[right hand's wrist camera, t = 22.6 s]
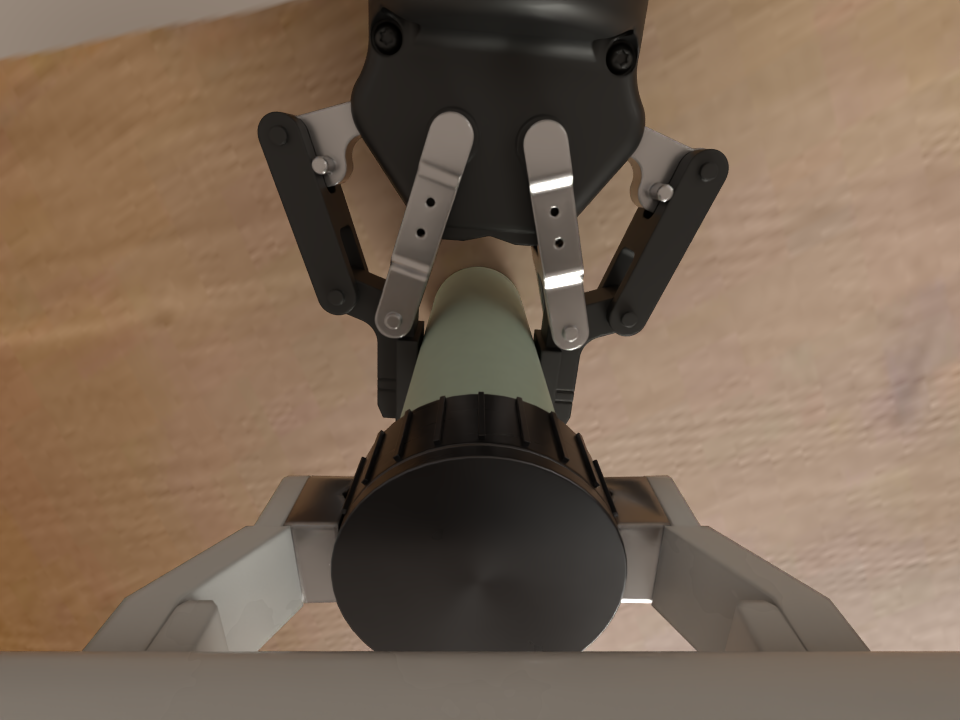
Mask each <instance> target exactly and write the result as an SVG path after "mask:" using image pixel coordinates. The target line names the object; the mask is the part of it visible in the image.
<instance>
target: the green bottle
mask: <svg viewBox="0 0 960 720" xmlns="http://www.w3.org/2000/svg"><path fill="white" fill-rule="evenodd" d="M478 392H484V394H492V395H501V396H507V397H511V398H515V399H516V398H517V397H521V398H522V400H523V401H525V402H527V403H530V404H533V405H535V406H538V407H540V408H541V409H543V410H545V411H547V412H549V413H550V412H551V411H553V412H555V411H554V408H553V404H552V401H551V398H550V394H549V391H548V388H547V384H546V381H545V378H544V374H543V371H542V368H541V364H540V361H539V358H538V355H537V351H536V348H535V345H534V341H533V338H532V335H531V331H530V328H529V325H528V321H527V318H526V315H525V311H524V308H523V305H522V301H521V298H520V295H519V293H518V291H517V289H516V287H515V286H514V284H513V283H512V282H511V281H510V280H509V279H508V278H507V277H506V276H505V275H503V274H502V273H500V272H498V271H496V270H493V269H490V268H486V267H470V268H465V269H462V270H459V271H457V272H456V273H454V274H452V275H451V276H449V277H448V278H447V279H446V280H445V281H444V282H443V283H442V285H441V286H440V288H439V289H438V291H437V294H436V296H435V299H434V303H433V306H432V310H431V313H430V317H429V320H428V324H427V327H426V331H425V334H424V337H423V341H422V344H421V348H420V351H419V355H418V358H417V362H416V365H415V369H414V372H413V376H412V379H411V382H410V386H409V389H408V393H407V396H406V400H405V403H404V407H403V410H402V414H401V417H403V416H404V414H405V411H407V410H408V409H410V410H411V411H413V410H415V409H416V408H418V407H420V406H423V405H425V404H428V403H430V402H433V401H436V400H439V399H440V397H441V396H445V397H446V398H447V397H451V396H457V395H466V394H478ZM401 417H400V418H401Z"/></svg>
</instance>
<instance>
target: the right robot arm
mask: <svg viewBox="0 0 960 720" xmlns="http://www.w3.org/2000/svg"><path fill="white" fill-rule="evenodd" d="M353 479H354V477H351V476H287V477H284V478H283V479H282V481H281V483H280V484H279V486H278V487H277V489H276V491H275V492H274V494H273V496H272V497H271V499H270V500H269V502H268V504H267V505H266V507H265V509H264V510H263V512H262V513H261V515H260V517H259V518H258V520H257V521H256V523H255V525H254V526H246V527H244V528H242V529H240V530H239V531H237V532H235V533H234V534H232V535H230V536H229V537H227V538H225V539H224V540H222V541H220V542H219V543H217V544H215V545H213V546H212V547H210V548H208V549H207V550H205V551H203V552H202V553H200V554H198V555H197V556H195V557H193V558H192V559H190V560H188V561H186V562H185V563H183V564H181V565H180V566H178V567H176V568H175V569H173V570H171V571H170V572H168V573H166V574H165V575H163V576H161V577H159V578H158V579H156V580H154V581H153V582H151V583H149V584H148V585H146V586H144V587H143V588H141V589H139V590H138V591H136V592H134V593H132V594H131V595H129V596H127V597H126V598H124V600H123V601H122V602H121V603H120V605H119V606H118V607H117V608H116V610H115V611H114V612H113V613H112V615H111V616H110V617H109V618H108V619H107V621H106V622H105V623H104V624H103V626H102V627H101V628H100V629H99V631H98V632H97V633H96V634H95V636H94V637H93V638H92V639H91V641H90V642H89V643H88V644H87V646H86V647H85V648H84V649H83V650H82V651H0V720H960V651H870V650H869V648H868V647H867V646H866V645H865V643H864V642H863V641H862V640H861V638H860V637H859V636H858V634H857V633H856V632H855V631H854V629H853V628H852V627H851V626H850V624H849V623H848V622H847V620H846V619H845V618H844V617H843V615H842V614H841V613H840V612H839V610H838V609H837V608H836V607H835V605H834V604H833V603H832V601H831V600H830V599H829V598H827V597H826V596H824V595H822V594H821V593H819V592H817V591H816V590H814V589H812V588H811V587H809V586H807V585H806V584H804V583H802V582H801V581H799V580H797V579H796V578H794V577H792V576H791V575H789V574H787V573H786V572H784V571H782V570H781V569H779V568H777V567H776V566H774V565H772V564H771V563H769V562H767V561H766V560H764V559H762V558H761V557H759V556H757V555H756V554H754V553H752V552H751V551H749V550H747V549H746V548H744V547H742V546H741V545H739V544H737V543H736V542H734V541H732V540H731V539H729V538H727V537H726V536H724V535H722V534H721V533H719V532H717V531H716V530H714V529H712V528H711V527H709V526H701V525H700V524H699V522H698V521H697V519H696V517H695V516H694V514H693V512H692V511H691V509H690V507H689V506H688V504H687V502H686V501H685V499H684V498H683V496H682V494H681V493H680V491H679V489H678V488H677V486H676V484H675V483H674V481H673V479H672V478H671V477H669V476H668V475H660V476H643V477H604V479H605V482H606V484H607V487H608V490H609V492H610V495H611V497H612V500H613V502H614V505H615V507H616V510H617V513H618V515H619V516H618V517H615V518H614V519H615V521H616V524H617V526H618V529H619V532H620V534H621V537H622V540H623V542H624V547H625V552H626V557H627V579H626V586H625V591H624V594H623V597H622V600H621V602H631V603H652V606H653V607H654V608H655V609H656V610H657V611H658V612H659V613H660V614H661V615H662V616H663V617H664V618H665V619H666V620H667V621H668V622H669V623H670V624H671V625H672V626H673V627H674V628H675V629H676V630H677V631H678V632H679V633H680V634H681V635H682V636H683V637H684V638H685V639H686V640H687V641H688V642H689V643H690V644H691V645H692V646H693V647H694V648H695V649H696V650H697V651H661V652H512V651H258V650H259V649H260V648H261V647H262V646H263V645H264V644H265V643H266V642H267V641H268V640H269V639H270V638H271V637H272V636H273V635H274V634H275V633H276V632H277V631H278V630H279V629H280V628H281V627H282V626H283V625H284V624H285V623H286V622H287V621H288V620H289V619H290V618H291V617H292V616H293V615H294V614H295V613H296V612H297V611H298V610H299V609H300V608H301V607H302V606H303V603H324V602H336V598H335V595H334V592H333V588H332V581H331V557H332V552H333V547H334V543H335V541H336V538H337V535H338V532H339V530H340V527H341V524H342V521H343V519H344V516H345V515H344V514H342V513H341V510H342V508H343V505H344V502H345V500H346V497H347V495H348V492H349V489H350V487H351V484H352V481H353Z"/></svg>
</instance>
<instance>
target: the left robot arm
mask: <svg viewBox="0 0 960 720" xmlns="http://www.w3.org/2000/svg"><path fill="white" fill-rule="evenodd" d="M647 6H648V0H369V44H368V52H367V56H366V60H365V64H364V66H363V69H362V71H361V74H360V76H359V78H358V79H357V81H356V83H355V85H354V88H353V91H352V95H351V101H350V102H346V103H343V104H339V105H335V106H332V107H328V108H324V109H321V110H317V111H313V112H310V113H306V114H302V115H299V116H297V115H292V114H287V113H282V112H271V113H268V114H266V115H265V116H264V117H263V118H262V119H261V121H260V123H259V125H258V138H259V142H260V144H261V147H262V150H263V152H264V155H265V158H266V160H267V163H268V166H269V169H270V171H271V174H272V177H273V179H274V182H275V185H276V187H277V190H278V193H279V196H280V198H281V201H282V204H283V206H284V209H285V212H286V214H287V217H288V220H289V223H290V225H291V228H292V231H293V233H294V236H295V239H296V241H297V244H298V247H299V250H300V252H301V255H302V258H303V260H304V263H305V266H306V268H307V271H308V274H309V277H310V279H311V282H312V285H313V287H314V290H315V293H316V295H317V298H318V301H319V303H320V305H321V306H322V308H323V309H324V310H326V311H327V312H329V313H331V314H334V315H344V314H348V315H350V316H353V317H355V318H358V319H360V320H362V321H364V322H366V323H367V324H369V325H370V326H371V327H372V328H373V330H374V331H375V333H376V336H377V341H378V407H379V409H380V411H381V414H382V416H383V417H384V418H396V421H397V420H398V419H400V417H401V414H402V410H403V407H404V403H405V400H406V396H407V393H408V389H409V386H410V382H411V379H412V376H413V372H414V369H415V365H416V362H417V358H418V355H419V351H420V348H421V344H422V341H423V337H424V321H418V317H419V306H420V303H421V300H422V297H423V294H424V291H425V288H426V285H427V282H428V279H429V276H430V274H431V271H432V268H433V265H434V262H435V259H436V256H437V253H438V250H439V247H440V244H441V241H442V239H446V240H459V241H465V240H470V239H475V238H481V237H486V236H492V237H495V238H498V239H500V240H503V241H506V242H509V243H512V244H514V245H525V246H531V250H532V256H533V261H534V266H535V270H536V275H537V281H538V287H539V293H540V299H541V305H542V311H543V320H542V328H541V330H535V331H534V339H533V341H534V345H535V348H536V351H537V355H538V358H539V361H540V364H541V368H542V371H543V374H544V378H545V381H546V384H547V388H548V391H549V394H550V398H551V401H552V404H553V408H554V411H555V413H556V415H557V418H558V419H559V420H561V421H562V422H564V423H565V424H566V423H567V422H568V420H569V418H570V415H571V409H572V402H573V396H574V390H575V384H576V377H577V371H578V365H579V358H580V354H581V351H582V349H583V348H584V346H585V345H586V344H587V343H588V342H590V341H591V340H593V339H595V338H598V337H602V336H605V335H609V334H613V333H617V334H618V335H621V336H632V335H635V334H637V333H638V332H640V331H641V330H642V329H643V327H644V326H645V324H646V322H647V321H648V319H649V317H650V315H651V313H652V312H653V310H654V308H655V306H656V304H657V303H658V301H659V299H660V297H661V295H662V294H663V292H664V290H665V288H666V286H667V285H668V283H669V281H670V279H671V277H672V275H673V274H674V272H675V270H676V268H677V266H678V265H679V263H680V261H681V259H682V257H683V256H684V254H685V252H686V250H687V248H688V247H689V245H690V243H691V241H692V239H693V238H694V236H695V234H696V232H697V230H698V229H699V227H700V225H701V223H702V221H703V219H704V218H705V216H706V214H707V212H708V210H709V209H710V207H711V205H712V203H713V201H714V200H715V198H716V196H717V194H718V192H719V191H720V189H721V187H722V185H723V183H724V182H725V180H726V178H727V175H728V170H729V165H728V161H727V158H726V157H725V155H724V154H723V153H722V152H720V151H718V150H715V149H705V148H690V147H688V146H686V145H684V144H682V143H680V142H677V141H675V140H673V139H671V138H669V137H667V136H665V135H663V134H661V133H658V132H656V131H654V130H652V129H650V128H648V127H646V126H645V112H644V108H643V105H642V102H641V99H640V96H639V92H638V86H637V64H638V58H639V53H640V47H641V42H642V36H643V30H644V24H645V18H646V12H647ZM361 138H363V140H364V141H365V143H366V144H367V146H368V148H369V149H370V151H371V152H372V154H373V155H374V157H375V158H376V160H377V161H378V163H379V165H380V166H381V168H382V169H383V171H384V172H385V174H386V175H387V177H388V179H389V180H390V182H391V183H392V185H393V186H394V188H395V189H396V191H397V192H398V194H399V196H400V197H401V199H402V200H403V202H404V203H405V205H406V206H407V207H406V211H405V214H404V217H403V221H402V224H401V227H400V230H399V234H398V237H397V240H396V244H395V247H394V250H393V254H392V257H391V264H390V269H389V272H388V275H387V278H386V279H383V278H381V277H379V276H377V275H374V274H372V273H370V272H369V271H368V268H367V265H366V262H365V258H364V255H363V252H362V249H361V246H360V243H359V240H358V237H357V234H356V231H355V228H354V225H353V222H352V218H351V215H350V212H349V209H348V206H347V203H346V200H345V197H344V194H343V191H342V188H341V185H340V184H342V183H344V182H346V181H347V180H348V179H349V178H350V177H351V175H352V172H353V160H352V151H353V147H354V145H355V144H356V142H357V141H358V140H359V139H361ZM627 160H628V161H629V163H630V164H631V166H632V169H633V180H632V183H631V186H630V197H631V200H632V201H633V203H634V204H635V205H636V206H638V209H637V211H636V213H635V215H634V217H633V219H632V221H631V223H630V225H629V227H628V229H627V231H626V233H625V235H624V237H623V239H622V241H621V243H620V245H619V247H618V249H617V251H616V253H615V255H614V257H613V259H612V261H611V263H610V265H609V267H608V269H607V271H606V273H605V275H604V277H603V279H602V281H601V283H600V285H599V287H598V289H596V290H592V291H589V292H585V293H584V288H583V276H584V268H583V260H582V253H581V245H580V237H579V230H578V222H577V217H578V216H579V214H580V213H581V212H582V211H583V210H584V209H585V208H586V206H587V205H588V204H589V203H590V202H591V201H592V200H593V199H594V197H595V196H596V195H597V194H598V193H599V192H600V191H601V190H602V188H603V187H604V186H605V185H606V184H607V183H608V182H609V181H610V179H611V178H612V177H613V176H614V175H615V174H616V173H617V172H618V170H619V169H620V168H621V167H622V166H623V165H624V164H625V163H626V161H627Z"/></svg>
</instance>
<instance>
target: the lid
mask: <svg viewBox="0 0 960 720" xmlns="http://www.w3.org/2000/svg"><path fill="white" fill-rule="evenodd" d="M341 513H342V514H344V515H345V516H344V519H343V521H342V524H341V527H340V530H339V532H338V535H337V538H336V541H335V543H334V547H333V552H332V557H331V581H332V588H333V592H334V595H335V598H336V602H337V605H338V607H339V609H340V611H341V613H342V615H343V617H344V619H345V620H346V621H347V623H348V624H349V626H350V627H351V629H352V630H353V631H354V632H355V633H356V635H357V636H358V637H359V638H360V639H361V640H362V641H363V642H364V643H365V644H366V645H368V646H369V647H370V648H371V649H372V650H374V651H512V652H582V651H583V650H585V649H586V648H587V647H588V646H589V645H591V644H592V643H593V642H594V641H595V640H596V639H597V638H598V637H599V636H600V635H601V633H602V632H603V631H604V630H605V629H606V628H607V626H608V625H609V623H610V622H611V620H612V619H613V617H614V616H615V614H616V612H617V610H618V608H619V606H620V603H621V600H622V597H623V594H624V591H625V586H626V579H627V557H626V552H625V547H624V542H623V540H622V537H621V534H620V532H619V529H618V526H617V524H616V521H615V519H614V518H615V517H618V516H619V515H618V513H617V510H616V507H615V505H614V502H613V500H612V497H611V495H610V492H609V490H608V487H607V484H606V482H605V479H604V477H603V474H602V472H601V469H600V466H599V464H598V461H597V460H594V461H593V460H592V458H591V456H590V454H589V452H588V450H587V448H586V446H585V443H584V440H583V438H582V435H581V434H580V433H578V434H575V433H574V432H573V431H572V430H571V429H570V428H569V427H568V426H567V425H566V424H565V423H564V422H562V421H561V420H559V419H558V418H557V415H556V413H555V412H553V411H551V412H550V413H549V412H547V411H545V410H543V409H541V408H540V407H538V406H535V405H533V404H530V403H527V402H525V401H523V400H522V398H521V397H517V398H516V399H515V398H511V397H507V396H501V395H492V394H484V392H478V394H466V395H457V396H451V397H447V398H446V397H445V396H441V397H440V399H439V400H436V401H433V402H430V403H428V404H425V405H423V406H420V407H418V408H416V409H415V410H413V411H411V410H410V409H408V410H407V411H405V414H404V416H403V417H401V418H400V419H398V420H397V421H396V422H394V423H393V424H392V425H391V426H390V427H389V428H388V429H387V430H386V431H384V432H383V431H382V430H381V431H380V432H379V433H378V435H377V438H376V441H375V443H374V445H373V446H372V448H371V450H370V451H369V453H368V455H367V457H366V458H364V457H362V458H361V460H360V463H359V465H358V468H357V471H356V473H355V476H354V479H353V481H352V484H351V487H350V489H349V492H348V495H347V497H346V500H345V502H344V505H343V508H342V510H341Z"/></svg>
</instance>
